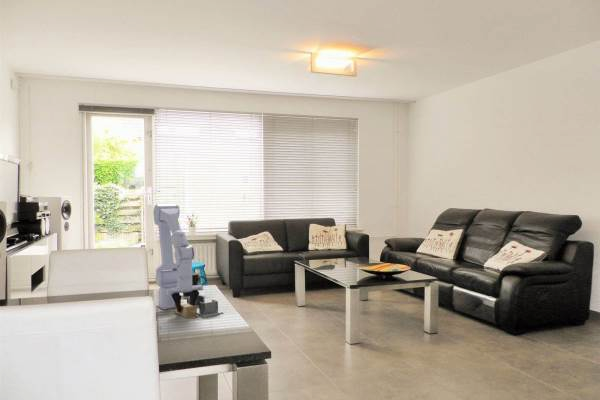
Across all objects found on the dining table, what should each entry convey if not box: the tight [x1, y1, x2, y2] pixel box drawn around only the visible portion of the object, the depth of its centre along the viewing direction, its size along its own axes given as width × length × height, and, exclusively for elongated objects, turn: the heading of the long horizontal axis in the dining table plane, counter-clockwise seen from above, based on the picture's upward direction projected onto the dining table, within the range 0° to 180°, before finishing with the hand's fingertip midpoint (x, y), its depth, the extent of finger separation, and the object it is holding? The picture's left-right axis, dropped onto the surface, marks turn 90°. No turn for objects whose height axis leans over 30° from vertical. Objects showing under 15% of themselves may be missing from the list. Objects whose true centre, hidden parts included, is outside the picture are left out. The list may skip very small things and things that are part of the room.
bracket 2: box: [199, 299, 219, 315], centre depth 184 cm, size 4×6×4 cm, turn 126°
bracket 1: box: [186, 294, 206, 308], centre depth 194 cm, size 4×6×4 cm, turn 126°
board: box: [197, 308, 224, 318], centre depth 189 cm, size 19×8×1 cm, turn 36°
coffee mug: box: [182, 272, 207, 297], centre depth 225 cm, size 12×9×10 cm
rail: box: [174, 301, 198, 319], centre depth 185 cm, size 14×4×4 cm, turn 36°
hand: (185, 310), depth 185 cm, fingers open, 5 cm apart
